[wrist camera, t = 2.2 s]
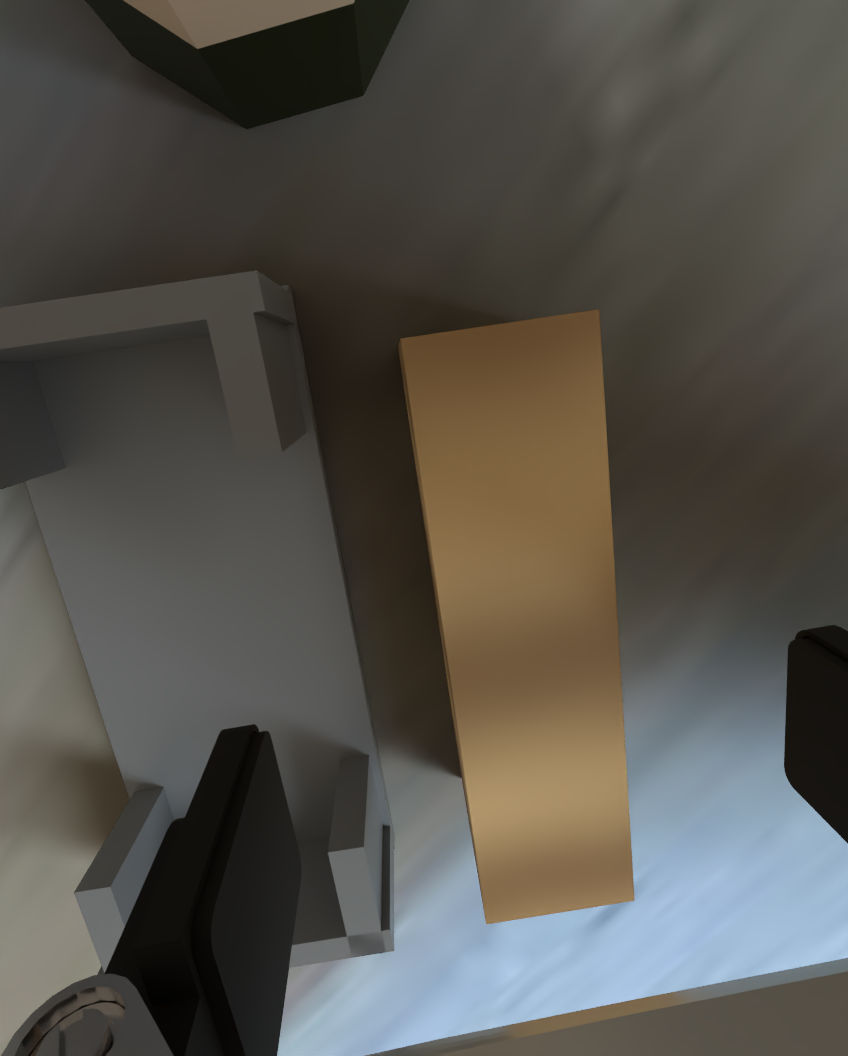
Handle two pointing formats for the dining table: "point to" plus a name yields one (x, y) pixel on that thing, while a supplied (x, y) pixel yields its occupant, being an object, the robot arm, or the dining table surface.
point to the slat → (527, 603)
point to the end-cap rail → (202, 577)
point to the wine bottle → (258, 49)
